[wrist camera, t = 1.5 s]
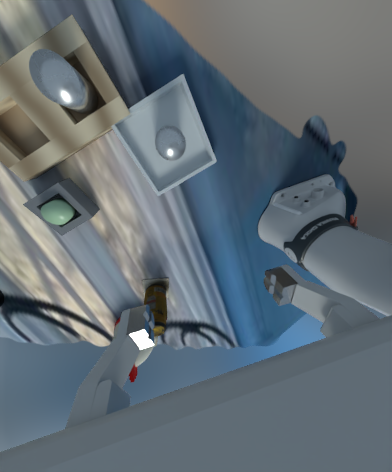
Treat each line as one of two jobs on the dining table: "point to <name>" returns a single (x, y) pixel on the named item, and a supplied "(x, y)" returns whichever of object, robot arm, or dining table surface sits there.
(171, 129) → the grey metal cylinder
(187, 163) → the white square tray
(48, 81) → the silver domed cylinder
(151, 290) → the condiment
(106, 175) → the dining table surface
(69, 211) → the button
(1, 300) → the ink bottle
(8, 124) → the frame
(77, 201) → the button housing
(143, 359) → the white red dome
